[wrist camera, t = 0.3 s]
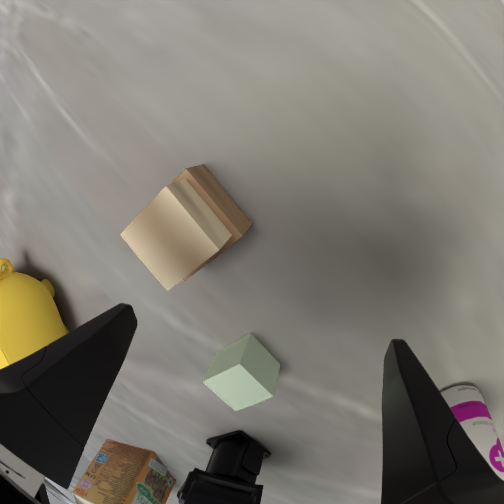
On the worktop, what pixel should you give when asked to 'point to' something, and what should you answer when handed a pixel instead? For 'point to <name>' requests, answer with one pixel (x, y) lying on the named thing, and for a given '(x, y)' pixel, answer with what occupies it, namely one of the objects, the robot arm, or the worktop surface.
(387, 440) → the robot arm
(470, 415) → the supplement can
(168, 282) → the maple block
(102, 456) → the milk carton
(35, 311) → the teapot
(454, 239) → the worktop surface
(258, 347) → the sage cube
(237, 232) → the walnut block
